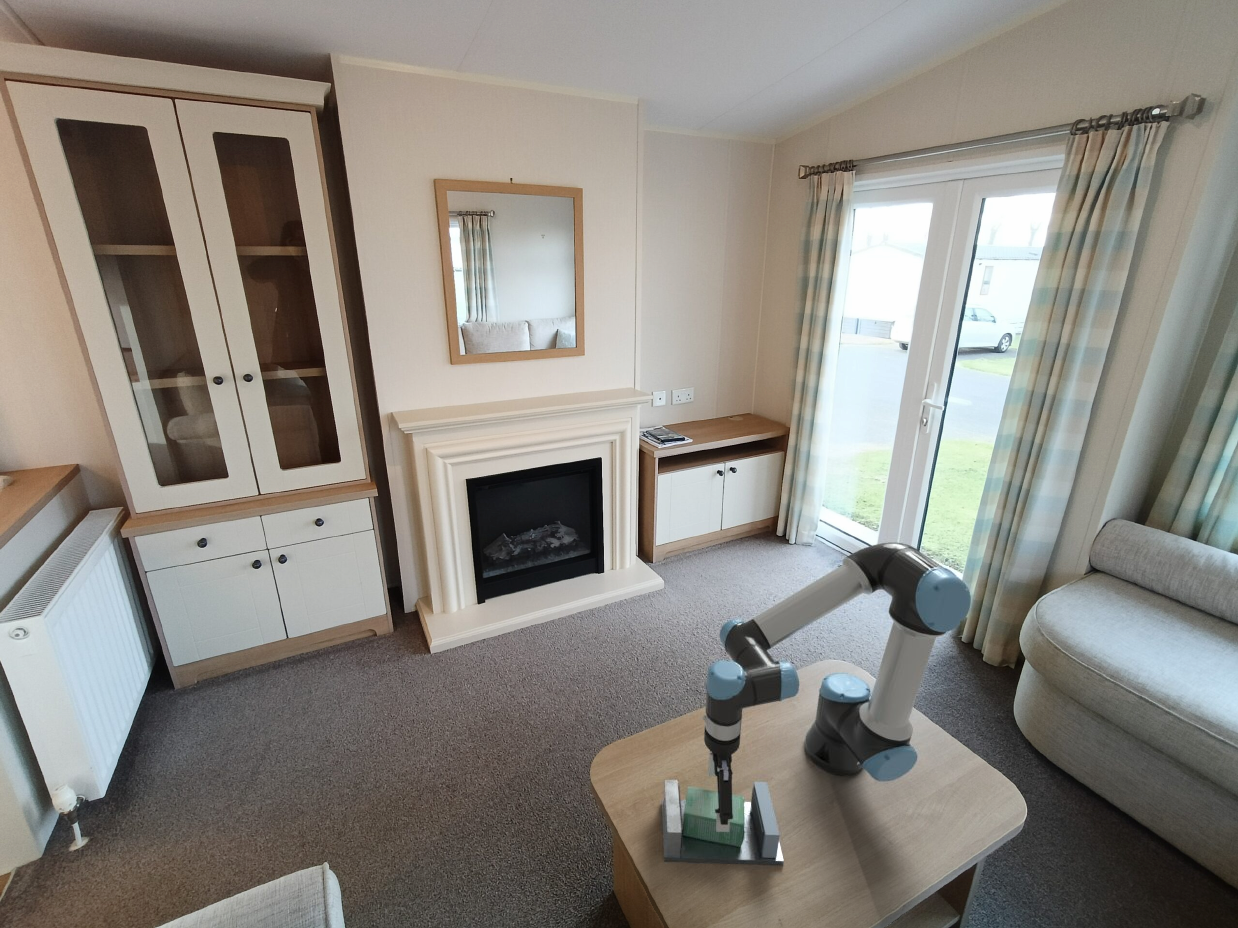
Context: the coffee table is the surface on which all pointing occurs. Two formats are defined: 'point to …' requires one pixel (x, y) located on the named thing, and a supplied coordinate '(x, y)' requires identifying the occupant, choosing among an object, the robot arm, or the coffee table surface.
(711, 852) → the vise
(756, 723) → the coffee table surface
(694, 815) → the box
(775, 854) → the block
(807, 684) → the coffee table surface
